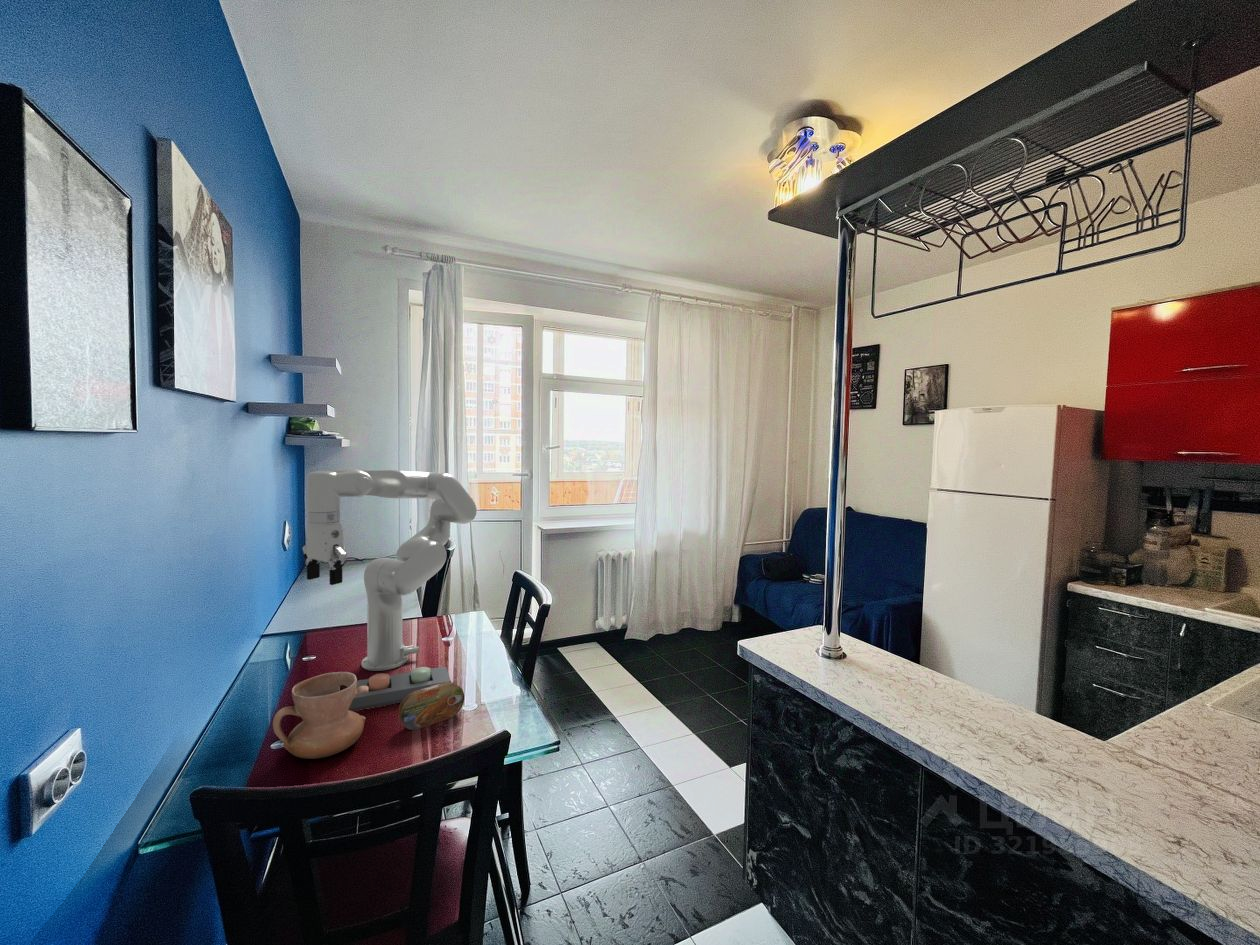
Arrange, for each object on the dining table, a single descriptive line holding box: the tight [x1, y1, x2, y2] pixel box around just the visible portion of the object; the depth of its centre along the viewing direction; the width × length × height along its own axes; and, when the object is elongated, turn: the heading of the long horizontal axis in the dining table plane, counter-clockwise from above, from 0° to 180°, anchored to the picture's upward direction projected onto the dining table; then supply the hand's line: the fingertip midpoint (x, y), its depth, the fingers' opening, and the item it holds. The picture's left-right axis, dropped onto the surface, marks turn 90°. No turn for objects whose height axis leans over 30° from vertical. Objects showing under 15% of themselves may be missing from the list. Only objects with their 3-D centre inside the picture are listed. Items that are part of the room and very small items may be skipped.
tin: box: [397, 681, 465, 731], centre depth 123 cm, size 15×3×8 cm, turn 130°
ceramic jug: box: [272, 671, 369, 760], centre depth 112 cm, size 18×14×14 cm
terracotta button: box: [368, 672, 390, 692], centre depth 134 cm, size 5×5×3 cm
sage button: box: [410, 666, 431, 684], centre depth 138 cm, size 5×5×3 cm
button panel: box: [348, 665, 452, 712], centre depth 136 cm, size 24×10×4 cm, turn 117°
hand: (324, 581), depth 138 cm, fingers open, 9 cm apart
